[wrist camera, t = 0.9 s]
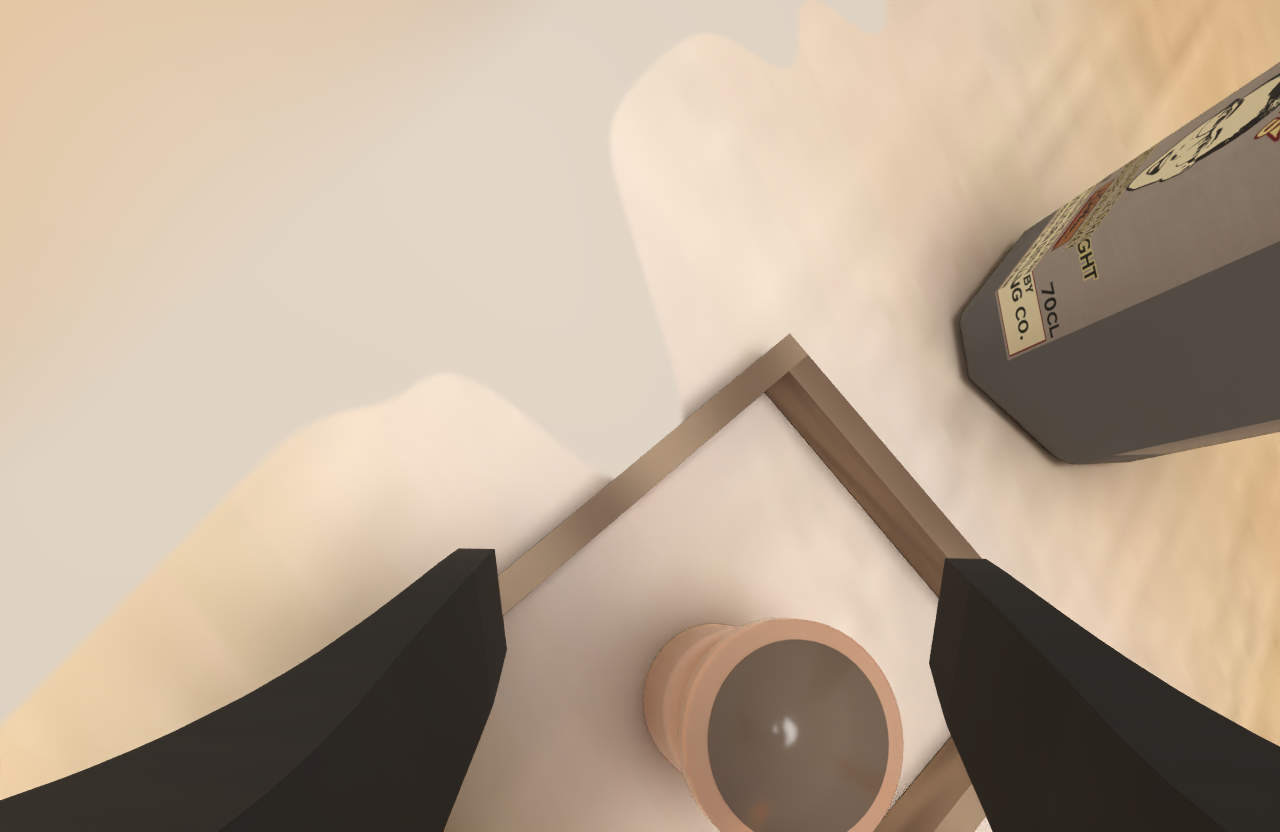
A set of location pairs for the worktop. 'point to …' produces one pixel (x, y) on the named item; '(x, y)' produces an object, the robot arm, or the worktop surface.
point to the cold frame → (942, 794)
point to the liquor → (1147, 298)
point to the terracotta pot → (777, 726)
